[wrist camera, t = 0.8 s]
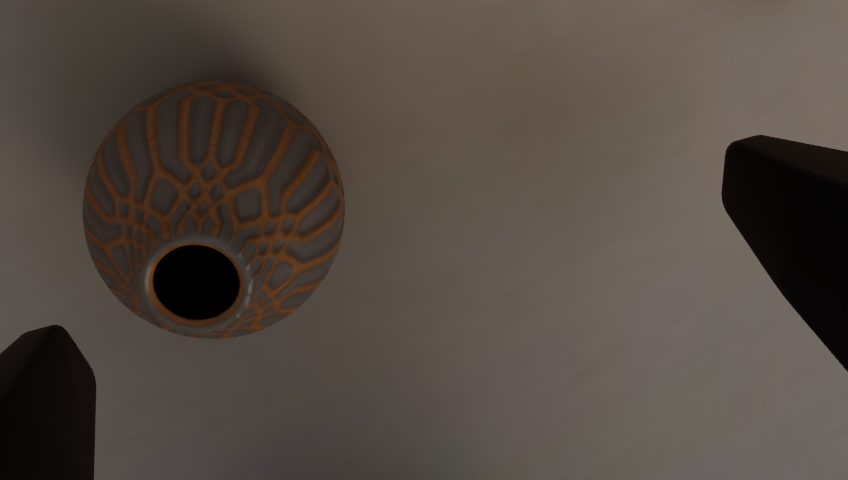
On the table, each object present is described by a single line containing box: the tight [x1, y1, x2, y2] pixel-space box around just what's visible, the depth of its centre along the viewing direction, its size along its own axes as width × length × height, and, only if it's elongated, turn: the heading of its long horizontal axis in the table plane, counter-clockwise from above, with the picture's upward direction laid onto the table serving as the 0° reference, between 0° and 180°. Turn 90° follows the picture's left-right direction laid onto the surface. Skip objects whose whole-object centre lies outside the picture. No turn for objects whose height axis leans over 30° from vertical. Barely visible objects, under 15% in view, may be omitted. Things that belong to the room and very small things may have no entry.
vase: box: [83, 80, 345, 339], centre depth 18 cm, size 7×7×9 cm
